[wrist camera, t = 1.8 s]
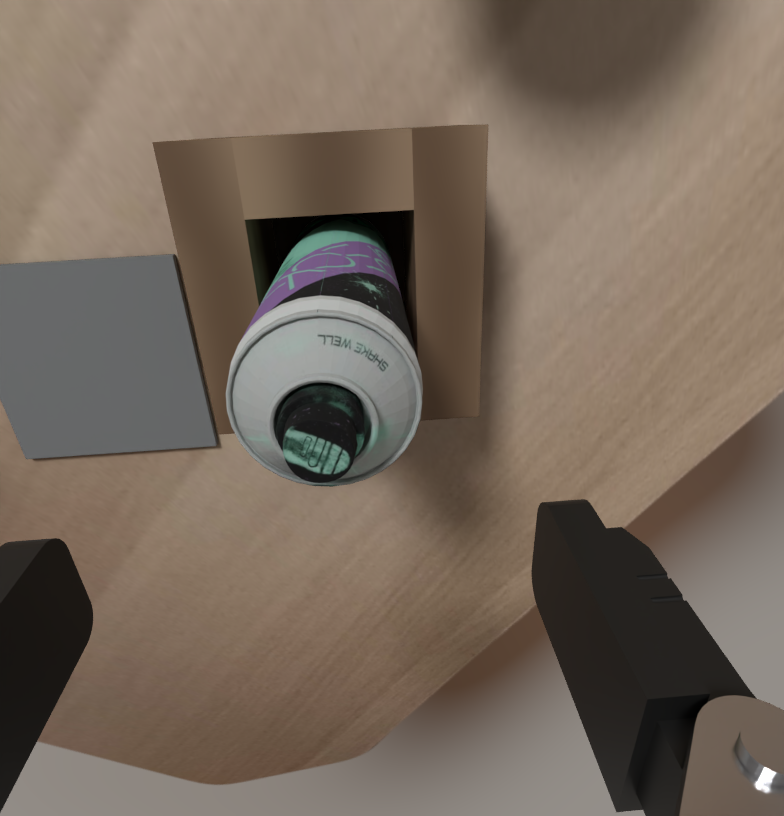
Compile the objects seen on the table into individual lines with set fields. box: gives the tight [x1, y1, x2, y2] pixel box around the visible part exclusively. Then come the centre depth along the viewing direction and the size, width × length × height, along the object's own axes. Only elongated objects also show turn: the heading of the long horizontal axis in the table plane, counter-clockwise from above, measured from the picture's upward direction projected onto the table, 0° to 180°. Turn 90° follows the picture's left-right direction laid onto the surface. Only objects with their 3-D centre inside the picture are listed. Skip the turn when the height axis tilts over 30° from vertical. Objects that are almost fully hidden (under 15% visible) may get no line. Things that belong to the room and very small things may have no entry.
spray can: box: [226, 213, 423, 486], centre depth 21 cm, size 6×6×20 cm
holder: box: [153, 125, 488, 434], centre depth 27 cm, size 13×13×7 cm
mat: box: [0, 254, 218, 459], centre depth 32 cm, size 12×12×1 cm
